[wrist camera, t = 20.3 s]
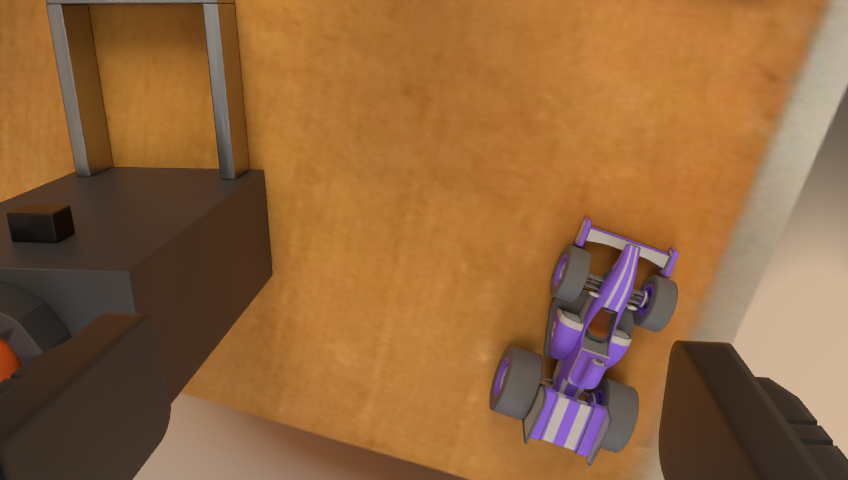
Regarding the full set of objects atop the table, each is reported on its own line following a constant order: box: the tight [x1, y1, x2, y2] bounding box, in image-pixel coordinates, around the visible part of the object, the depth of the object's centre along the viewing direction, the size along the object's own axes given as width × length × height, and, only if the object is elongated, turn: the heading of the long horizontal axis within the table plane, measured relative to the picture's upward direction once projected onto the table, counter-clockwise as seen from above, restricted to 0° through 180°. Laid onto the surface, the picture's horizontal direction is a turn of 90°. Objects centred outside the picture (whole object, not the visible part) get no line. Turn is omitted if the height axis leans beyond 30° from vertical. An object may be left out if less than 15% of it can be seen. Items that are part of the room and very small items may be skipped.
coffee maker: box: [0, 167, 272, 403], centre depth 40 cm, size 8×13×21 cm, turn 90°
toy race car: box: [489, 217, 679, 466], centre depth 46 cm, size 10×15×6 cm, turn 161°
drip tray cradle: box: [6, 0, 250, 243], centre depth 39 cm, size 12×11×16 cm
